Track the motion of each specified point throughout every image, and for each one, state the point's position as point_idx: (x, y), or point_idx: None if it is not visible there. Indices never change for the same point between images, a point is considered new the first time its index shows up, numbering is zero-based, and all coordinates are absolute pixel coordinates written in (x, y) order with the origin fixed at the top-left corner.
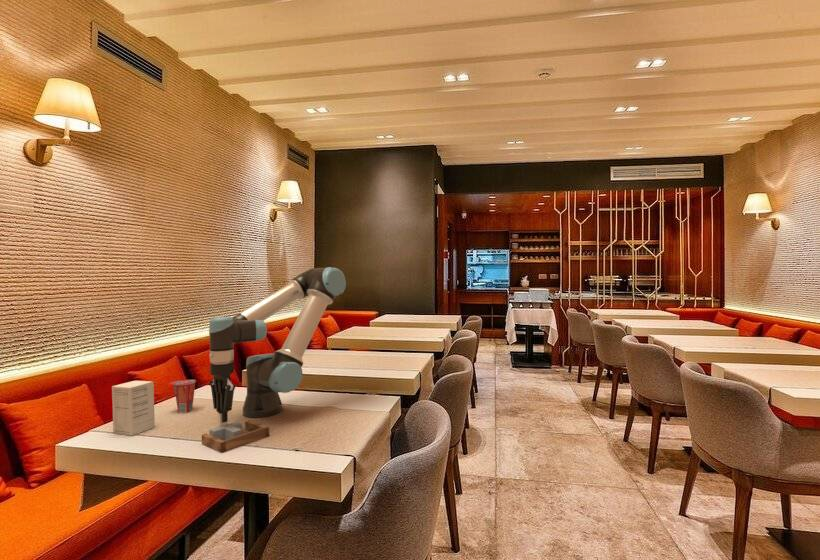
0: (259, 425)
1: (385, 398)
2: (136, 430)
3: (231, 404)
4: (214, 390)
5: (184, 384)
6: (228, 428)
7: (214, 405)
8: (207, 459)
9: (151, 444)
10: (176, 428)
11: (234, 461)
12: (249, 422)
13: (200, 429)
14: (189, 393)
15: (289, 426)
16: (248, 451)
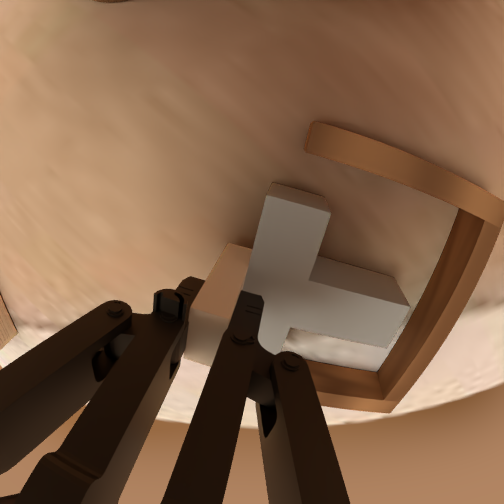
0: (454, 193)
1: None
2: (7, 328)
3: (318, 415)
4: (24, 447)
5: None
6: (318, 321)
7: (111, 367)
8: (368, 419)
9: None
10: (22, 256)
11: (451, 398)
12: (353, 158)
13: (80, 233)
14: None
15: (484, 47)
16: (467, 346)
